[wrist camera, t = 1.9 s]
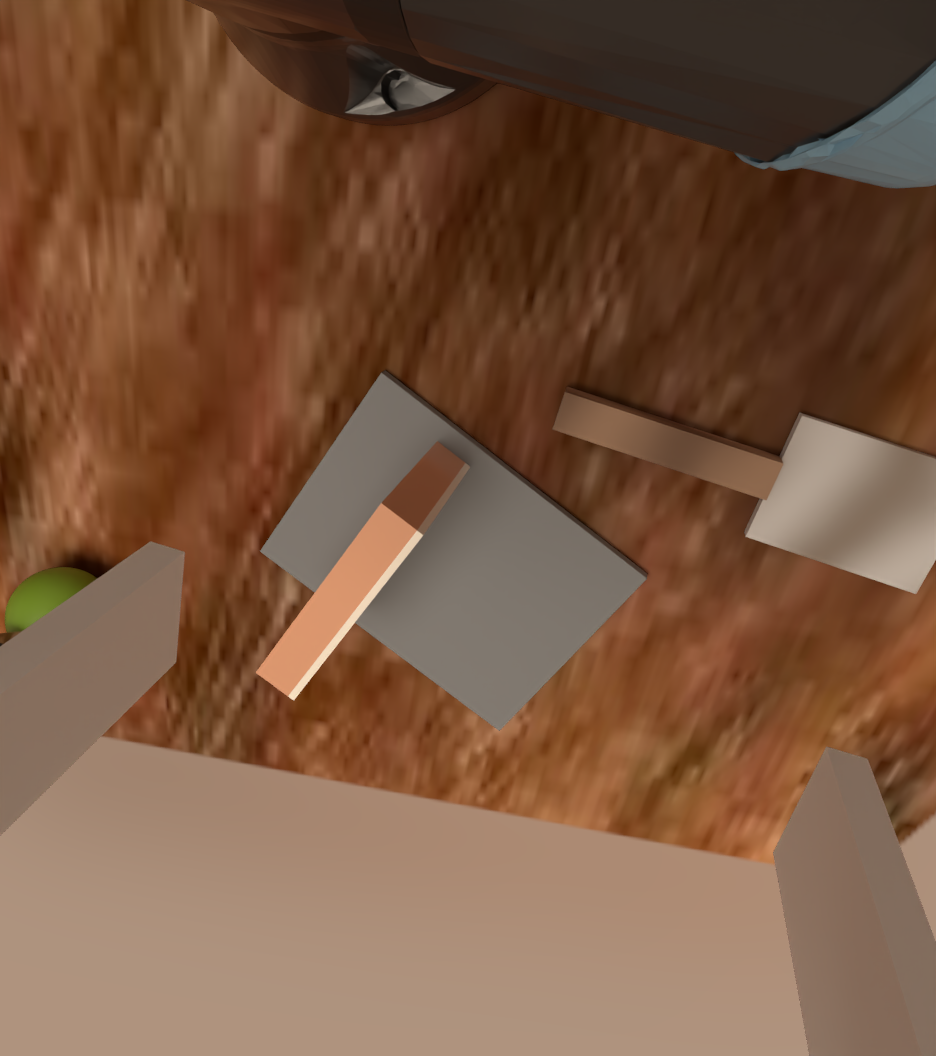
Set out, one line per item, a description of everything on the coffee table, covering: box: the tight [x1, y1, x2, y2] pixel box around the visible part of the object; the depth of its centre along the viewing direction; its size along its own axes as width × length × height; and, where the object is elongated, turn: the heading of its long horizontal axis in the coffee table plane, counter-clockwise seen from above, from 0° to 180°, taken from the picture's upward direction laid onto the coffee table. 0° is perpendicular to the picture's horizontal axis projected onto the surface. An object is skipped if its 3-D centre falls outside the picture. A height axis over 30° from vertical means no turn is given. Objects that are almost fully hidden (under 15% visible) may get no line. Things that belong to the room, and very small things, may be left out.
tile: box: [256, 441, 470, 700], centre depth 37 cm, size 2×10×9 cm, turn 143°
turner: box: [553, 387, 936, 594], centre depth 37 cm, size 18×6×1 cm, turn 74°
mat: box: [260, 370, 647, 731], centre depth 42 cm, size 16×12×1 cm
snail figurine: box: [0, 567, 98, 644], centre depth 42 cm, size 5×6×12 cm
